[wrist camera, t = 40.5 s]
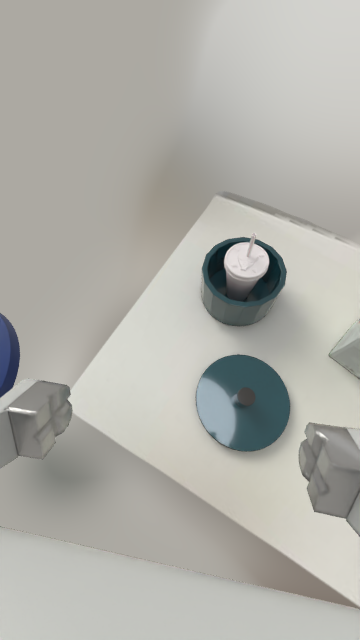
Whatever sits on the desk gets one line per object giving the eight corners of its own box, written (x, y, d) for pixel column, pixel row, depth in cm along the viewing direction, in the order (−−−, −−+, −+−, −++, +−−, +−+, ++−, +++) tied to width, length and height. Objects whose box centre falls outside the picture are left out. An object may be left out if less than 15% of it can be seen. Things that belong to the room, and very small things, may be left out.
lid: (202, 456, 36) (203, 459, 32) (190, 362, 41) (190, 353, 37) (299, 444, 36) (313, 446, 31) (274, 352, 41) (283, 342, 37)
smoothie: (259, 283, 46) (283, 225, 33) (250, 313, 44) (272, 264, 31) (225, 273, 47) (235, 214, 34) (214, 302, 45) (221, 251, 32)
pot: (207, 330, 43) (209, 311, 37) (197, 269, 49) (197, 242, 42) (280, 321, 43) (296, 300, 36) (262, 261, 48) (273, 233, 42)
